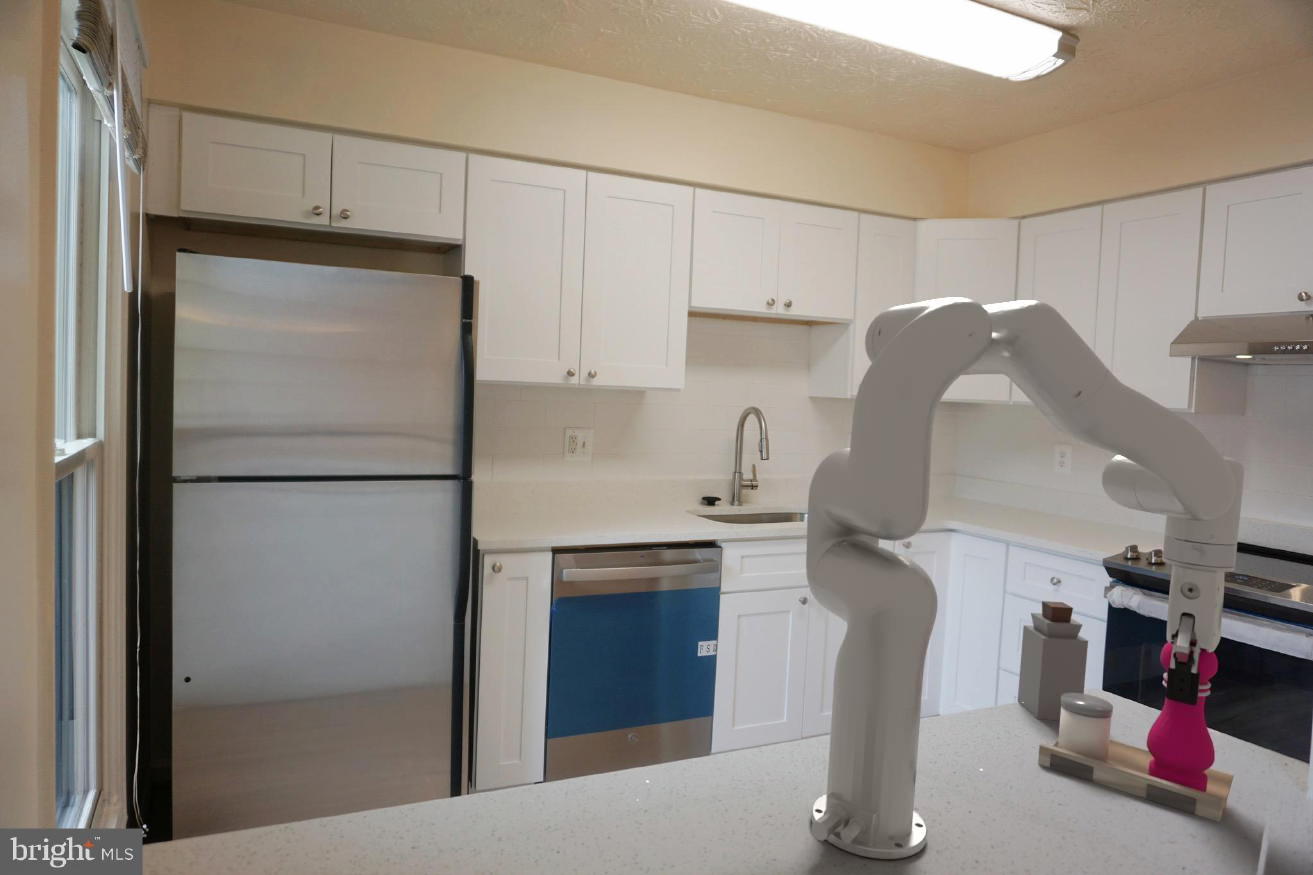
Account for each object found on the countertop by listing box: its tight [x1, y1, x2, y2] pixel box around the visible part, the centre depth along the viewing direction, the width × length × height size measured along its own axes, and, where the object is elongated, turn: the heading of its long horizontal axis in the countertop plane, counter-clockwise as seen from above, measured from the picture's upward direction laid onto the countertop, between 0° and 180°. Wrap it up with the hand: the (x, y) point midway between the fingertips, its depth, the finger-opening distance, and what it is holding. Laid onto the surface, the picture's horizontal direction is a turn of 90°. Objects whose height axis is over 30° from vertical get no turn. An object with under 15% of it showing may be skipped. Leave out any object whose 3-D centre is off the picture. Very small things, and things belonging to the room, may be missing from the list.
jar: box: [1057, 693, 1114, 762], centre depth 108 cm, size 6×6×8 cm
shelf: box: [1037, 739, 1234, 823], centre depth 105 cm, size 16×20×4 cm
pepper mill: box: [1146, 641, 1219, 792], centre depth 100 cm, size 7×7×20 cm
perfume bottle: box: [1017, 600, 1089, 721], centre depth 124 cm, size 7×7×18 cm
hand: (1185, 693), depth 100 cm, fingers closed on pepper mill, 5 cm apart
